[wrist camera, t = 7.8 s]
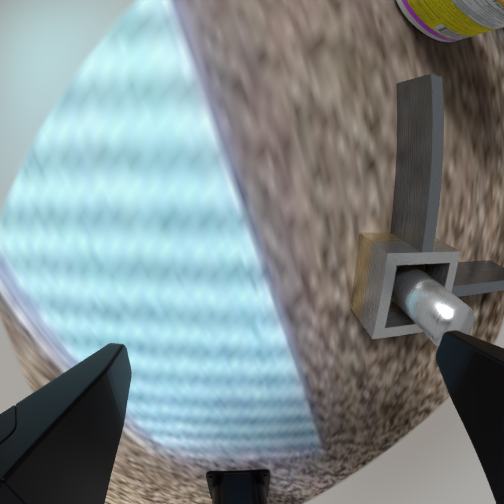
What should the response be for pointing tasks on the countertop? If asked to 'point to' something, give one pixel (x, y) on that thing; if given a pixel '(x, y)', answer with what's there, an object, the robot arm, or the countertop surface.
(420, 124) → the hinge
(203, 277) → the countertop surface
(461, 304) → the hinge pin
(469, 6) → the supplement bottle
